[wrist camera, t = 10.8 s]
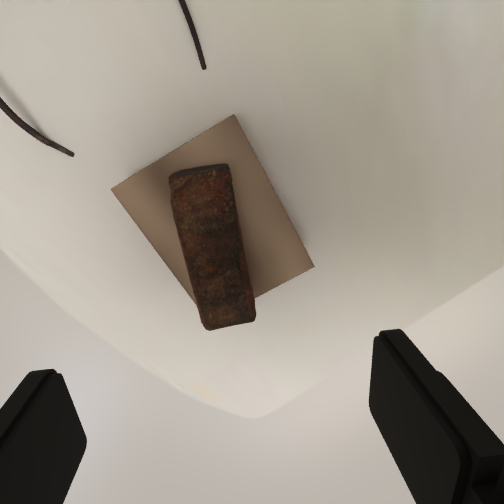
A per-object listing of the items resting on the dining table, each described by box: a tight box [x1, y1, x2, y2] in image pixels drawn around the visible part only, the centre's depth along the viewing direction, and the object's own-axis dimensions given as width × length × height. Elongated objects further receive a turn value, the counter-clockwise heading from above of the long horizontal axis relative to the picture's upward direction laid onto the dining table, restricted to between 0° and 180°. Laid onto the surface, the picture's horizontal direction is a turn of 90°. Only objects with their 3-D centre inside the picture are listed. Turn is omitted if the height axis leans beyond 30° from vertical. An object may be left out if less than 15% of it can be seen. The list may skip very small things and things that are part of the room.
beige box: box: [111, 114, 315, 304], centre depth 27 cm, size 10×13×5 cm
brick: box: [168, 163, 256, 331], centre depth 23 cm, size 11×4×5 cm, turn 9°
